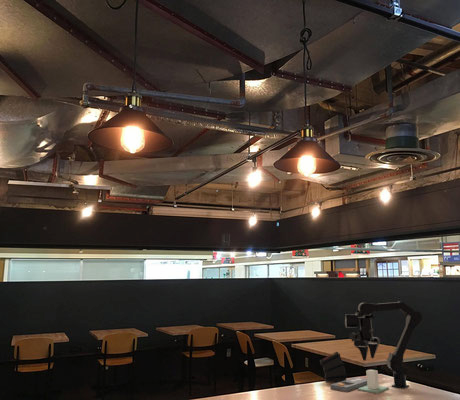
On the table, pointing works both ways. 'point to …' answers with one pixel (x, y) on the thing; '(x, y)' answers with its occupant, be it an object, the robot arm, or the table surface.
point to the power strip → (349, 384)
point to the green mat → (373, 389)
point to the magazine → (333, 368)
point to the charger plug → (372, 379)
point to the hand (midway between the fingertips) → (368, 359)
